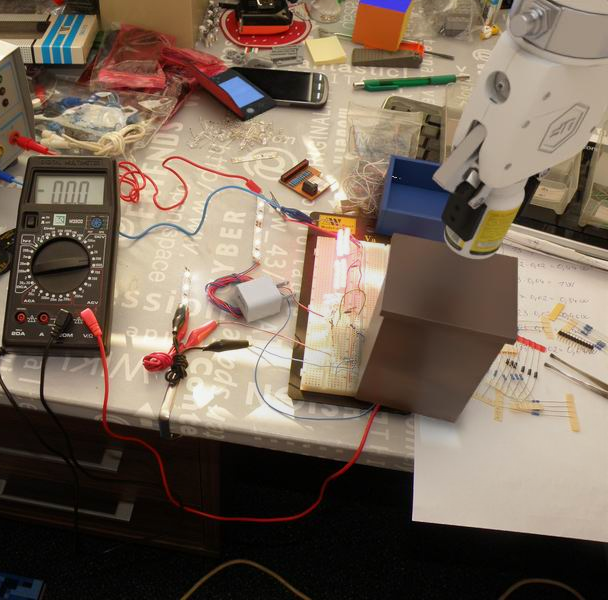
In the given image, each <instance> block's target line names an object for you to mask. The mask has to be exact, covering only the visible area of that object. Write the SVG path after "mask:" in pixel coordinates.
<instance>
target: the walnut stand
mask: <svg viewBox="0 0 608 600" xmlns="http://www.w3.org/2000/svg"><path fill="white" fill-rule="evenodd" d="M386 265H387V266H386V271H385V275H384V278H383V281H382V284H381V288H380V290H379V293H378V296H377V299H376V302H375V305H374V308H373V311H372V314H371V317H370V321H369V322H368V323H369V324H368V326H367V330H366V332H365V336H364V340H363V341H364V342H363V347H362V353H361V358H360V364H359V371H358V376H357V382H356V387H355V392H354V394H355V395H354V399H355V400H358V401H362V402H367V403H370V404H374V405H379V406H383V407H388V408H391V409H395V410H399V411H402V412H407V413H411V414H416V415H419V416H423V417H429V418H431V419H436V420H440V421H444V422H447V423H448V422H449V423H453V424H455V423H456V422H457V421H458V419H459V417H460V416H461V414H462V413H463V411H464V410H465V408H466V406H467V404H468V403H469V402H470V400H471V398H472V397H473V395H474V394H475V392H476V390H477V389H478V387H479V386H480V384H481V382H482V381H483V380H484V378H485V377H486V375H487V373H488V372H489V370H490V369H491V367H492V365H493V364H494V362H495V361H496V360H497V358H498V356H499V355H500V353H501V351H502V350H503V348H504V347H505V346H506V345H509V346H515V344H516V343H517V341H518V340H519V339H518V338H519V337H518V336H519V335H518V333H519V332H518V331H519V330H518V328H519V327H518V322H519V317H518V316H519V315H518V313H519V257H517V256H513V255H512V256H511V255H507V254H502V253H497V252H496V253H495V254H494V255H492V256H490V257H488V258H484V259H472V258H467V257H464V256H461V255H459V254H457V253H456V252H454V251H453V250H452V249H451V248H450V247H449V246H448V245H447V243H442V242H437V241H432V240H427V239H422V238H417V237H412V236H407V235H402V234H397V233H393V236H392V237H391V239H390V246H389V252H388V257H387V263H386Z"/></svg>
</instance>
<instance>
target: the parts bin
mask: <svg viewBox="0 0 608 600" xmlns="http://www.w3.org/2000/svg"><path fill="white" fill-rule="evenodd" d="M442 164H443V163H441V162H440V163H439V162H435V161H428V160H423V159H417V158H412V157H406V156H402V155H401V156H400V155H395V154H391V155H390V158H389V162H388V165H387V168H386V172H387V173H385V176H384V179H383V184H382V191H381V196H380V202H379V207H378V213H377V218H376V224H375V229H374V234H377V235H381V236H386V237H391V238H392V236H393V233H397V234H402V235H407V236H412V237H417V238H422V239H427V240H432V241H437V242H442V243H446V241H445V238H444V231H445V228H446V224H445V223H444V222H443V221H442V219H441V216H442V213H443V211H444V208H445V206H446V203H447V200H448V198H449V195H450V193H451V192H449V191H447V190H444V189H443V188H442V187H441V186H440V185H439V184H438V183H437V182H436V181H434V180H433V175H434V174H435V172H436V171H437V170H438V169H439V168H440V167H441V165H442ZM392 176H394V177H397V178H394V177H392ZM399 178H401V179H399Z"/></svg>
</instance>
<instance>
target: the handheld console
mask: <svg viewBox="0 0 608 600" xmlns="http://www.w3.org/2000/svg"><path fill="white" fill-rule="evenodd" d="M180 61H181V63H183V65H184V66H185V68H186V69H187V70H188V71H189V73H190V74H191V75H192V77H193V78H194V79H195V80H196V83H197V86H199V87H200V88H201V89H202V90H203V91H204V92H206V93H207V94H209V96H210V97H212V98H213V99H214V100H216V101H217V102H218V103H219V104H221V105H222V106H223V107H224V108H226V109H227V110H228V111H229V112H230V113H231V114H233V115H234V116H235V117H236V118H237V119H238V120H239V121H241V122H243V123H245V122H247V121H249V120H252V119H254V118H255V117H258V116H260V115H262V114H264V113H266V112H269V111H271V110H272V109H274V108H276V107H277V104H278V103H277V102H278V101H276V100H275V99H274V98H273V97H271V96H270V95H269V94H267V93H266V92H265V91H264V90H262V89H261V88H260V87H258V86H257V85H256V84H254V83H253V82H251V80H249V79H247V78H246V77H245V76H243V75H242V74H241V73H240V72H238V71H237V70H235V69H233V68H230V69H226V70H224V71H222V72H219V73H217V74H215V75H213V76H210V77H209V76H208V75H207V74H205V73H204V72H203V71H201V70H200V69H199V68H197V67H196V66H195V65H194V64H193V63H191V61H188V60H187V59H186V58H185V57H183V56H182V57H180Z"/></svg>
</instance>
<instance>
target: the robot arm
mask: <svg viewBox="0 0 608 600" xmlns="http://www.w3.org/2000/svg"><path fill="white" fill-rule="evenodd" d="M607 108H608V0H513V2H512V4H511V8H510V11H509V13H508V15H507V18H506V22H505V30H504V31H502V32H501V34H500V36H499V38H498V39H497V41H496V42H495V45H494V47H493V48H492V50H491V52H490V54H489V56H488V57H487V59H486V62H485V63H484V65H483V67H482V69H481V71H480V74H479V75H478V77H477V79H476V81H475V84H474V86H473V88H472V90H471V92H470V95H469V97H468V99H467V101H466V104H465V106H464V108H463V111H462V113H461V116H460V118H459V121H458V123H457V126H456V129H455V132H454V135H453V139H452V143H451V148H450V149H451V151H450V152H451V154H450V155H449V156H448V157H447V159H445V161H444V162H443V163H441V164H442V165H441V167H440V168H439V169H438V170H437V171H436V172H435V174H434V175H433V180H434V181H436V182H437V183H438V184H439V185H440V186H441V187H442V188H443V189H444V190H447V191H449V192H451V193H450V195H449V198H448V200H447V203H446V206H445V208H444V211H443V213H442V216H441V219H442V221H443V222H444V223H445V224H446V225H447V226H448V227H449V228H450V229H451V230H452V231H453V232H454V233H455V234H457V235H458V236H459V237H460V238H461V239H462V240H463V241H464V242H467V241H470V240H472V239H473V237H474V235H475V232H476V230H477V228H478V226H479V224H480V222H481V220H482V217H483V215H484V213H485V211H486V209H487V207H488V206H487V205H486V204H485V203H484V201H485V199H486V198H487V196H488V195H489V193H490V192H491V190H492V189H493V188H502V187H506V186H509V185H512V184H514V183H516V182H519V181H521V180H523V179H526V178H528V177H529V178H528V180H527V182H526V185H525V187H524V191H525V195H524V199H523V202H522V204H521V206H520V208H519V210H518V212H517V214H516V216H515V218H516V219H519V218H520V217H523V216H524V215H525V213H526V211H527V209H528V207H529V205H530V203H531V202H532V200H533V198H534V195H535V194H536V193H537V190H538V188H539V187H540V186H541V183H542V181H540V180H542V179H544V178H546V177H547V176H548V175H549V174H550V173H551V171H552V168H553V167H555V166H557V165H559V164H561V163H564V162H565V161H567V160H569V159H571V158H572V157H575V156H576V155H578V154H579V153H580V152H582V151H583V150H584V149H585V148H586V146H587V145H588V144H589V142H590V140H591V138H592V137H593V135H594V133H595V131H596V129H597V128H598V125H599V124H600V122H601V120H602V118H603V116H604V114H605V113H606V109H607ZM473 170H475V171H476V172H477V173H478V174H479V178H480V180H481V182H480V184H479V185H478V187H477V188H475V187H474V186H473V185H471V184H470V183H469V182H468V181H467V179H468V177H469V176H470V174H471V172H472V171H473ZM515 218H514V219H515Z"/></svg>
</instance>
